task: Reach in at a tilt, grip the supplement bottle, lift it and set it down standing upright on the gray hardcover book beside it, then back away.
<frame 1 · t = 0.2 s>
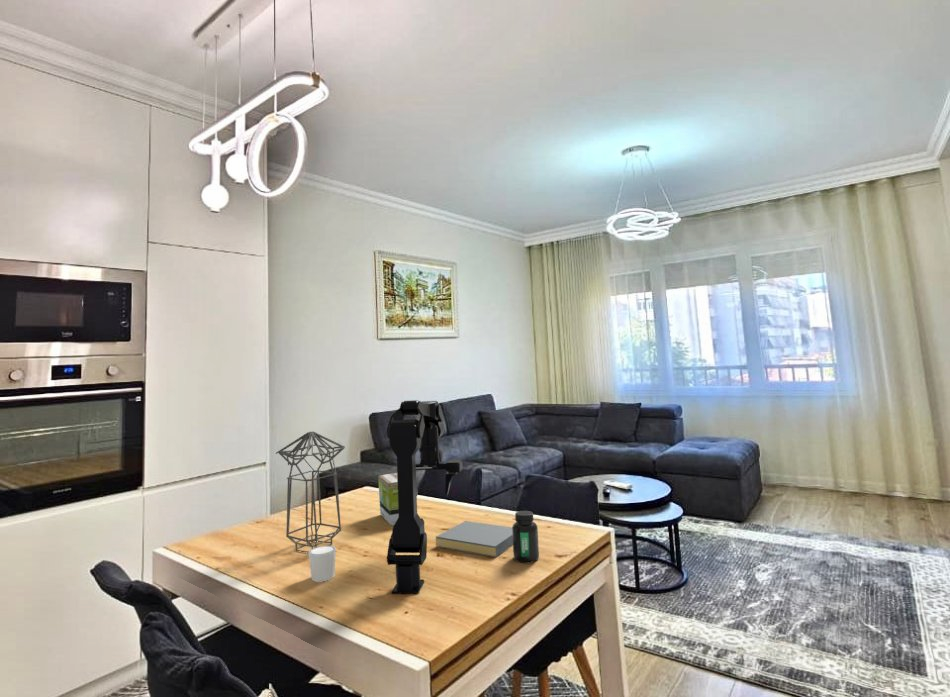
hand: (431, 495, 146), 15 cm above the table, tool pointing down, fingers open, 9 cm apart
supplement bottle: (526, 558, 132), on the table
geometric lantern: (314, 548, 148), on the table
tea box: (398, 518, 175), on the table
white cylinder: (323, 578, 126), on the table
gray hardcover book: (479, 542, 145), on the table
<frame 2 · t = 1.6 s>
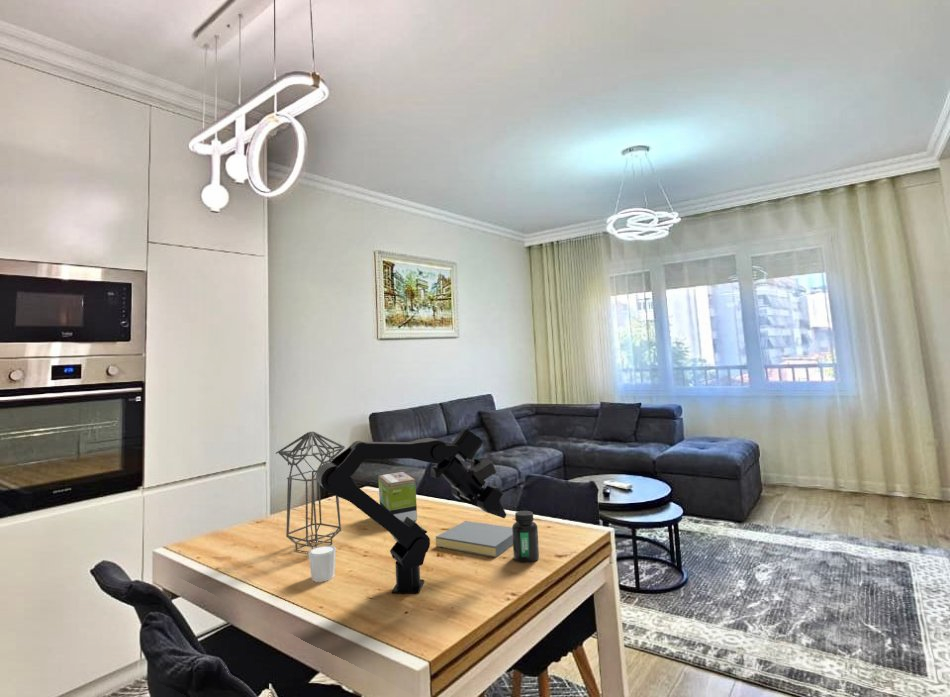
hand: (496, 512, 130), 13 cm above the table, tool tilted 45°, fingers open, 9 cm apart
nothing on the table moved.
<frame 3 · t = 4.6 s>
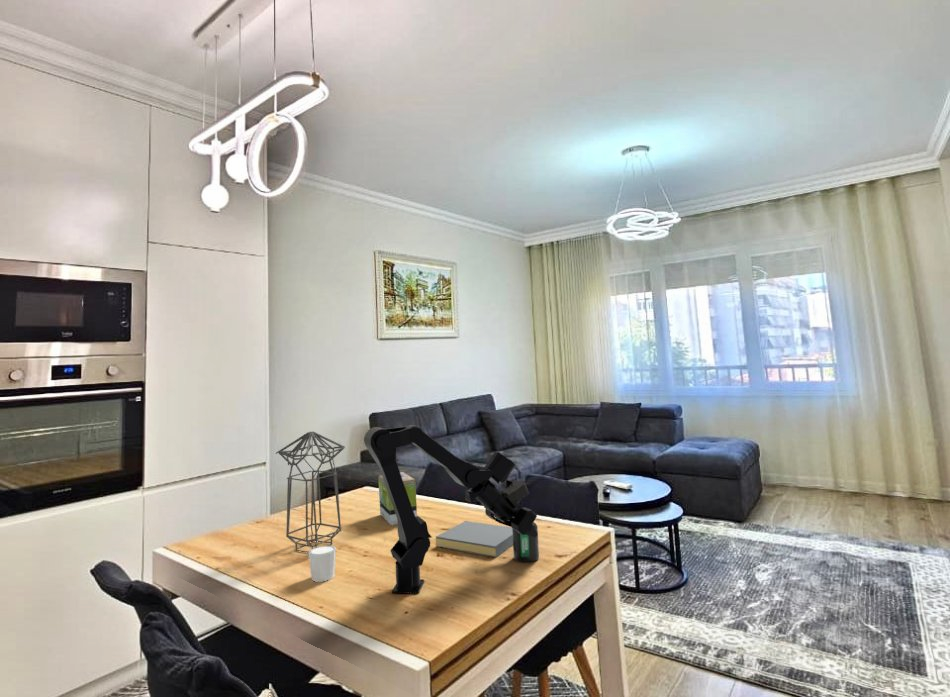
hand: (529, 532, 133), 7 cm above the table, tool tilted 45°, fingers closed on supplement bottle, 7 cm apart
supplement bottle: (526, 558, 132), on the table, touching gripper
everything else where it was.
when the fingers open (11 cm above the table, at t = 8.9 s): supplement bottle stays where it is, resting on gray hardcover book.
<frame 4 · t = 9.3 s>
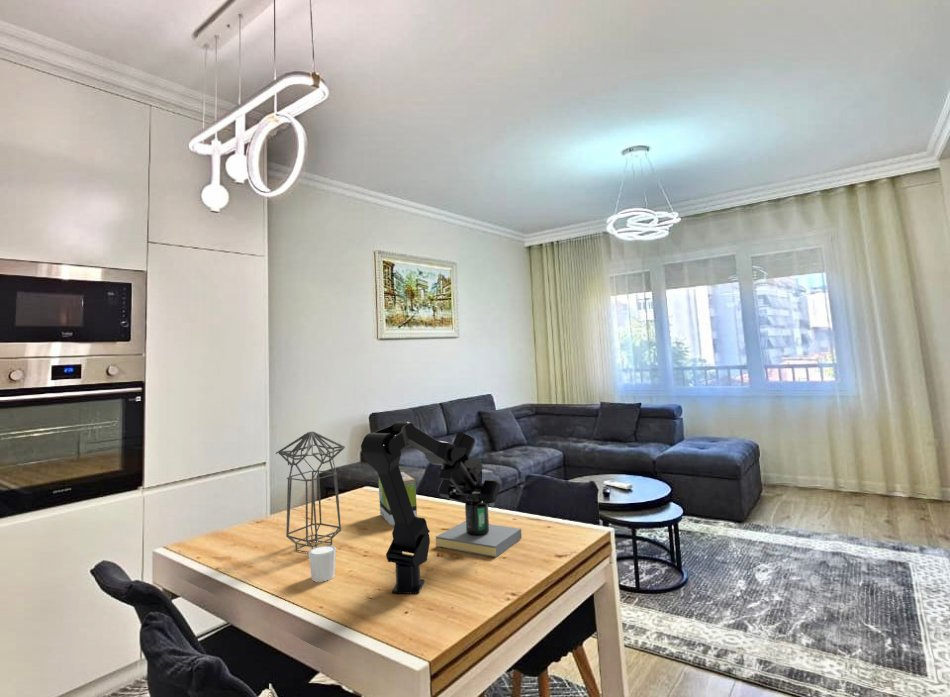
hand: (480, 503, 147), 11 cm above the table, tool tilted 45°, fingers open, 9 cm apart
supplement bottle: (477, 533, 146), point 3 cm above the table, touching gray hardcover book
everything else where it was.
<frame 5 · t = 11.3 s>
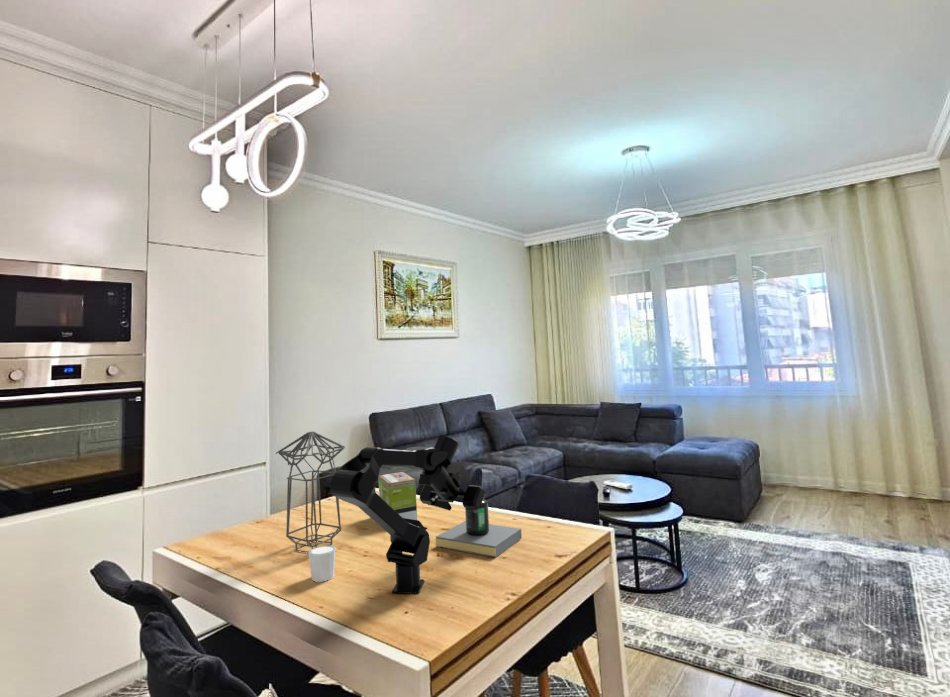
hand: (463, 510, 139), 11 cm above the table, tool tilted 45°, fingers open, 9 cm apart
nothing on the table moved.
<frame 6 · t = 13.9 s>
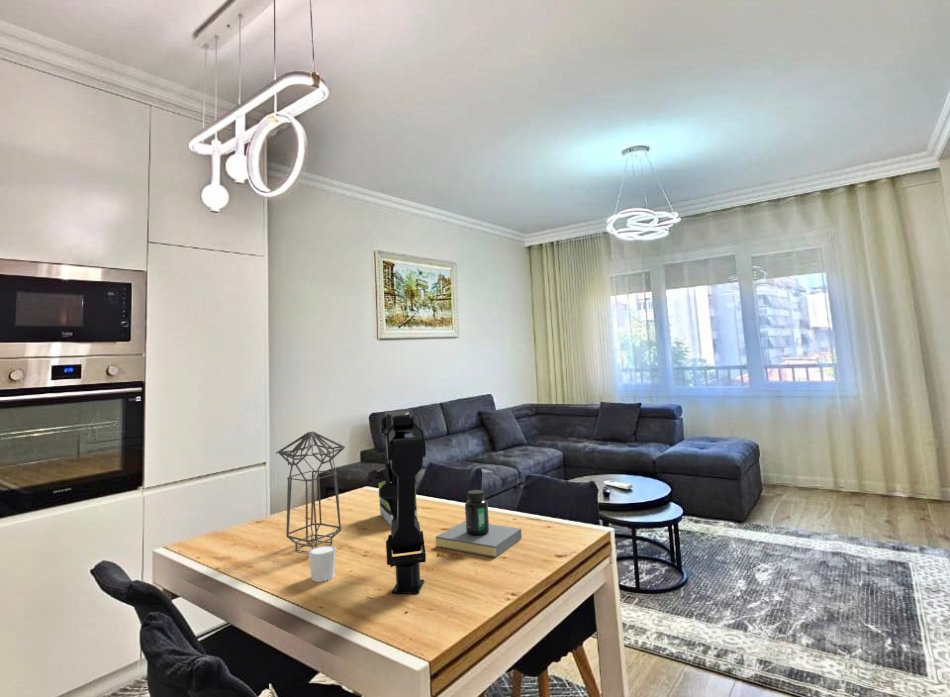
hand: (401, 515, 132), 13 cm above the table, tool pointing down, fingers open, 9 cm apart
nothing on the table moved.
at the end: supplement bottle inside the target area on the gray hardcover book (0.4 cm from its centre), point 2.8 cm above the gray hardcover book's base; supplement bottle tilted 0°; the gripper is holding nothing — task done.
